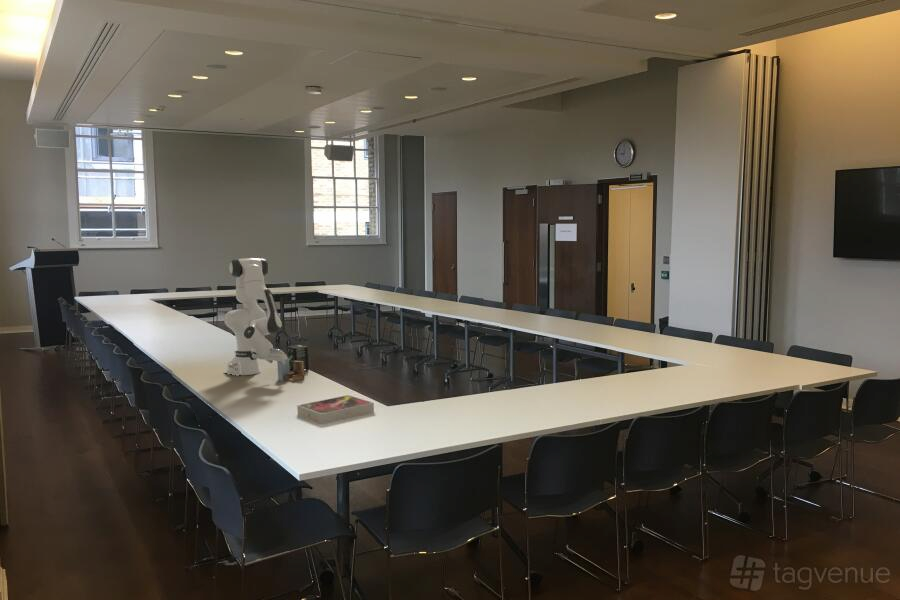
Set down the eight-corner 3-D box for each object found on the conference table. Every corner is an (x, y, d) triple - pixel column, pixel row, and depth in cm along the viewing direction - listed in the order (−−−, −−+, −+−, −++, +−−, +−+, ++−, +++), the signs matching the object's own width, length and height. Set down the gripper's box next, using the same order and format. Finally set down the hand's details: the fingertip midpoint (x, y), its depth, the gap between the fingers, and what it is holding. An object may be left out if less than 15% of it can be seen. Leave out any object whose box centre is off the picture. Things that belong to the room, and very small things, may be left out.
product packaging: (297, 415, 335) (297, 405, 334) (348, 404, 353) (348, 394, 353) (321, 425, 319) (321, 414, 318) (373, 413, 337) (373, 402, 336)
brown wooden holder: (285, 380, 408) (284, 363, 407) (295, 377, 416) (294, 360, 415) (293, 381, 405) (293, 364, 404) (304, 378, 413) (303, 361, 412)
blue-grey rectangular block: (278, 379, 411) (277, 359, 409) (285, 377, 416) (284, 357, 415) (282, 380, 409) (281, 359, 408) (290, 378, 414) (289, 357, 413)
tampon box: (309, 370, 436) (308, 346, 435) (294, 372, 431) (293, 348, 429) (302, 367, 445) (301, 344, 444) (287, 369, 440) (286, 345, 438)
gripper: (281, 345, 394) (294, 359, 404) (253, 342, 404) (267, 356, 414) (276, 354, 391) (289, 368, 400) (248, 352, 401) (261, 365, 410)
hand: (277, 362), depth 407 cm, fingers open, 8 cm apart
